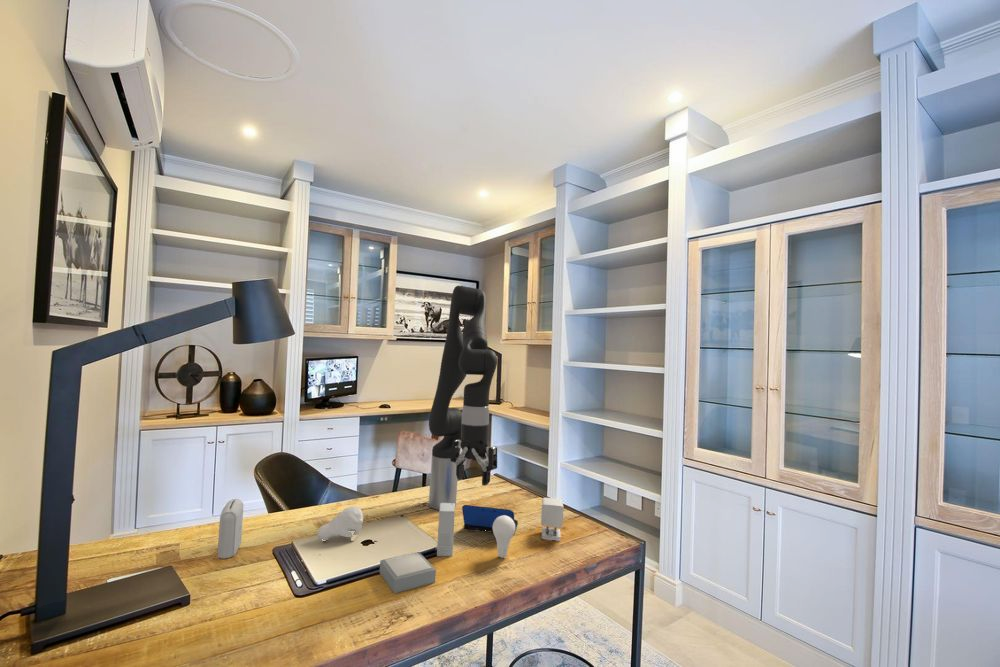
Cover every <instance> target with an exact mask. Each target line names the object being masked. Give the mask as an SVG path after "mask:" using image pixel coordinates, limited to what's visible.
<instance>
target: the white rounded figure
mask: <svg viewBox="0 0 1000 667" xmlns="http://www.w3.org/2000/svg"><path fill="white" fill-rule="evenodd" d="M363 515H364V513H363V511H362V508H361V507H360V506H353V505H352V506H349V507H348V506H347V507H346V508H344V509H343V510H341V511H340V512H338V514H337V515H336V516H335V517H333V519H332V520H331V521H329V522H328V523H325V524H323V525H321V526H320V527H319V528H317V529H318V530H317V537H318V539H320V540H321V539H323V540H328V541H329V539H330V538H331V537H345V538H351V537H352V533H351V532H348V531H349V530H350V531H355V532H354V534H353V535H359V536H360V534H361V531H362V525H363V523H364V516H363ZM328 538H329V539H328Z"/></svg>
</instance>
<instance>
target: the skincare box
mask: <svg viewBox="0 0 1000 667" xmlns="http://www.w3.org/2000/svg"><path fill="white" fill-rule="evenodd" d="M455 514H456V506H455V503H440V509H439V510H438V525H437V526H438V527H437V543H436V544H437V545H436V546H437V547H436V548H437V549H436V556H437V557H453V553H454V552H453V551H454V537H455V536H454V532H455V531H454V530H455Z"/></svg>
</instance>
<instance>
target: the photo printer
mask: <svg viewBox="0 0 1000 667" xmlns="http://www.w3.org/2000/svg"><path fill="white" fill-rule="evenodd" d="M243 523H244V502H243V501H242V500H241V499H240V498H235V499H234V498H232V499H230V500H229V501H228V502H226V504H225V505H224V507H223V509H222V510H221V513H220V517H219V529H218V541H217V542H218V543H217V557H218V558H219V559H229V558H232V557H234V556H235V555H236V553H237V552H238V549H239V548H240V546H241V543H242V538H243V536H242V535H243Z"/></svg>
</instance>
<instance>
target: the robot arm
mask: <svg viewBox="0 0 1000 667" xmlns="http://www.w3.org/2000/svg"><path fill="white" fill-rule="evenodd" d="M453 288H454V289H453V291H452V295H451V299H450V305H449V306H450V307H449V314H448V315H449V316H448V325H447V332H446V337H445V341H444V342H445V343H444V347H443V351H442V356H441V363H440V368H439V369H440V370H439V375H438V382H437V385H436V391H435V396H434V398H433V400H432V401H433V402H432V406H431V410H430V412H429V418H428V427H429V431H430V433H431V435H432V436H433V437H443V438H442V439H441V440H440V441H439V442H437V443H436V444H434V445H433V446H432V450H431V466H430V468H431V469H430V476H429V477H430V478H429V494H428V507H430V508H431V509H433V510H437V511H439V509H440V503H455V507H456V506H457V495H458V480H461V479H464V477H465V463H466V461H467V460H473V461H475V462H477V464H478V465H480V468H481V469H482V472H481V485H482V486H487V485H489V483H490V482H491V471H493V470H496V469H498V447H497V446H488V439H489V430H490V429H489V426H490V410H489V409H490V407H489V404H490V392H491V391H490V390H491V386H492V381H493V378H494V375H495V372H496V368H497V366H498V356H497V354H496V352H494V351H493V350H492V349H488V345H489V344H488V339H487V338H488V337H487V330H486V320H487V319H486V318H487V296H486V293H485V291H484V290H482V289H480V288H475V287H471V286H470V287H469V286H464V285H456V286H455V287H453ZM460 315H465V316H471V318H470V319H469V320H468V321H467V322H466V323H465V324H464V326H463V330H462V328H461V324H460ZM467 375H473V376H476V375H477V376H482V377H481V379H480V380H479V381H476V382H472V383H467V384H466V385H465V386H464V389H463V405H462V410H460V409H459V408H457V407H450V404H451V401H452V398H453V396H454V394H455V393H456V392H457V390H458V388H459V387H460V386H461V384H463V382H464V380H465V378H466V377H467ZM461 450H462V451H461ZM482 458H483V459H482Z"/></svg>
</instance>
